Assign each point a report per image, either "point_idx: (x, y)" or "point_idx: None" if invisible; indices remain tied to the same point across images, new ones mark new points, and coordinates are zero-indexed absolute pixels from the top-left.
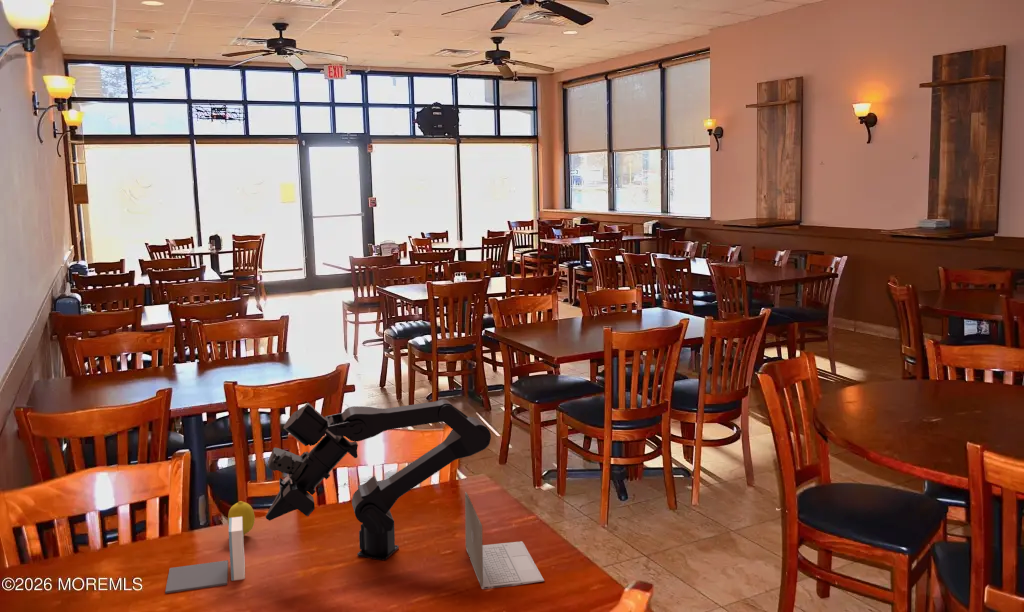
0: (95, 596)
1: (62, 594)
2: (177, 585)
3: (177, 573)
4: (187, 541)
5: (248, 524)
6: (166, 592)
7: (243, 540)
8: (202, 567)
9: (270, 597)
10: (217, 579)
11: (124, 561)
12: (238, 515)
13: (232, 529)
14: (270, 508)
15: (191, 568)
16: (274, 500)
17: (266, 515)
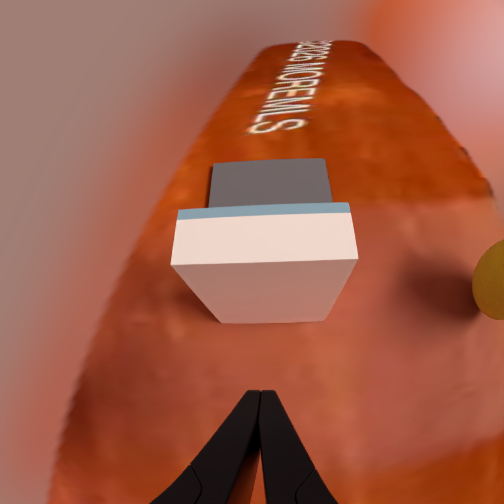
0: (248, 92)
1: (270, 69)
2: (231, 178)
3: (293, 172)
4: (453, 186)
5: (487, 305)
6: (213, 166)
7: (323, 299)
8: None
9: (103, 375)
10: None
11: (370, 106)
12: (499, 265)
13: (198, 222)
14: (265, 428)
15: (311, 195)
16: (304, 471)
17: (255, 395)
